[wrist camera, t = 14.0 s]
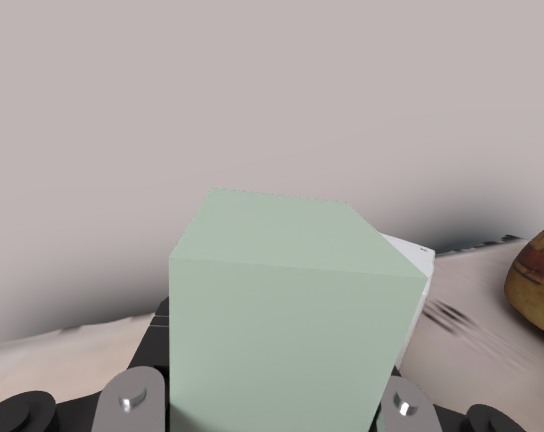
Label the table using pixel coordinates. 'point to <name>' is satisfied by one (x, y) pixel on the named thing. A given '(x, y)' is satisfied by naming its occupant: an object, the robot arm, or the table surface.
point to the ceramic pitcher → (528, 281)
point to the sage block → (284, 316)
